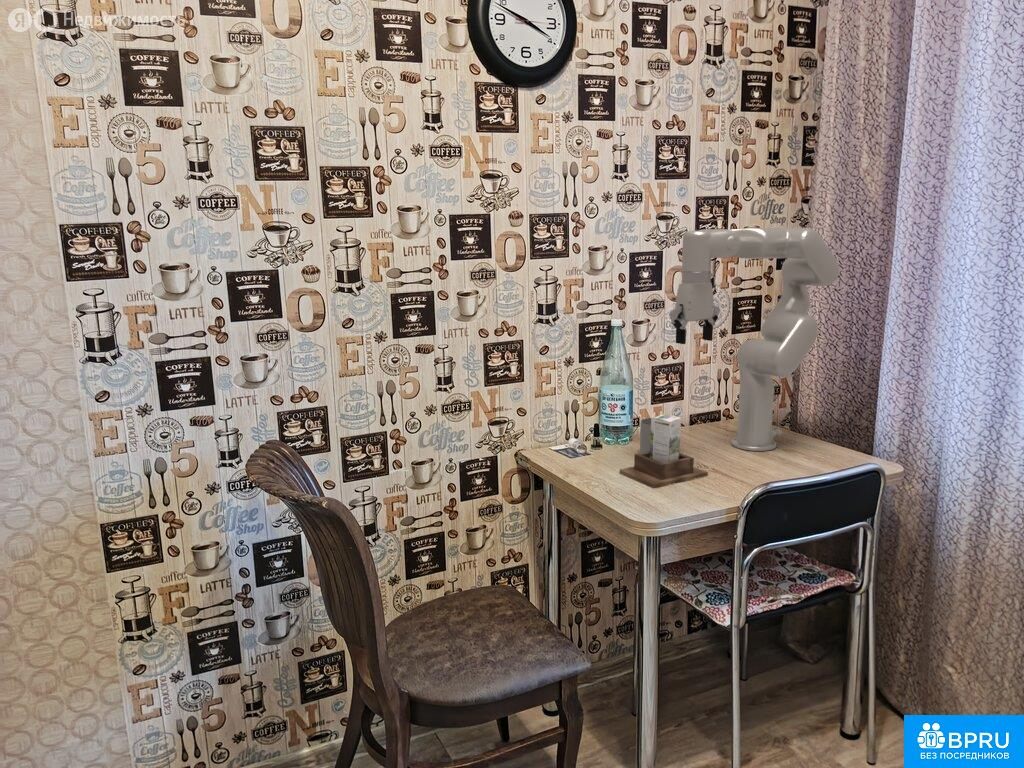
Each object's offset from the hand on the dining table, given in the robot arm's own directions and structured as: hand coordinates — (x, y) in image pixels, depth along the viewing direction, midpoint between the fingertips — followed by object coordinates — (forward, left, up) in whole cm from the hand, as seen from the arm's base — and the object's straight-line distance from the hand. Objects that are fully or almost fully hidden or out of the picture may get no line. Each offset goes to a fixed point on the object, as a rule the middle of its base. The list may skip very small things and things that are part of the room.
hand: (694, 341), depth 204 cm
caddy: (+15, +6, -33) cm, 37 cm away
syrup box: (+15, +6, -32) cm, 36 cm away
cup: (+6, -8, -33) cm, 35 cm away
